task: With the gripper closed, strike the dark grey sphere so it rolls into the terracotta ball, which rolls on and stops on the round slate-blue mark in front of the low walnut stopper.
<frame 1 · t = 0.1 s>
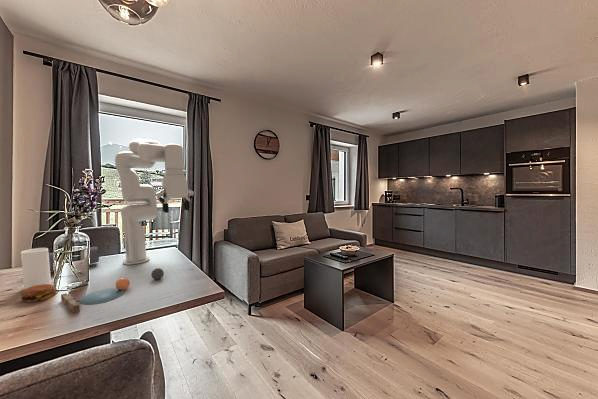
hand: (176, 211, 118), 31 cm above the table, tool pointing down, fingers open, 9 cm apart
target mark: (103, 295, 104), on the table
dark grey sphere: (157, 273, 120), on the table
burger: (39, 298, 103), on the table
cup: (38, 287, 113), on the table
stopper wall: (70, 306, 96), on the table
bluetooth speaker: (70, 269, 136), on the table
object ball: (122, 283, 109), on the table
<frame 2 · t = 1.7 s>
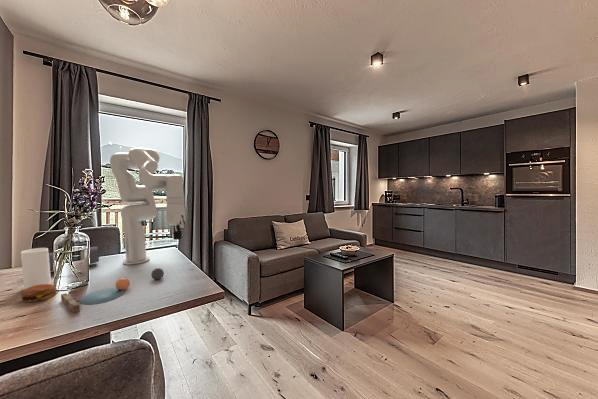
hand: (177, 238, 127), 17 cm above the table, tool pointing down, fingers closed
nothing on the table moved.
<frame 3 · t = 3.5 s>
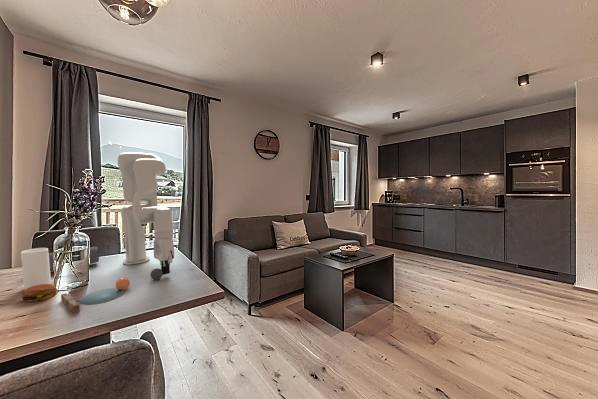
hand: (165, 273, 123), 2 cm above the table, tool pointing down, fingers closed
dark grey sphere: (156, 274, 120), on the table, touching gripper
everything else where it was.
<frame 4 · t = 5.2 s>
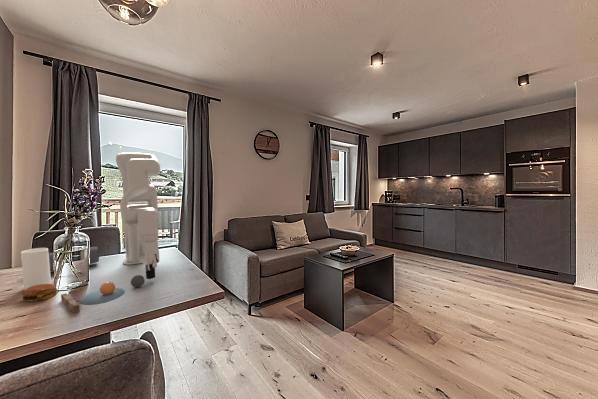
hand: (150, 278, 118), 2 cm above the table, tool pointing down, fingers closed
dark grey sphere: (137, 281, 112), on the table
object ball: (107, 288, 105), on the table
everything else where it was.
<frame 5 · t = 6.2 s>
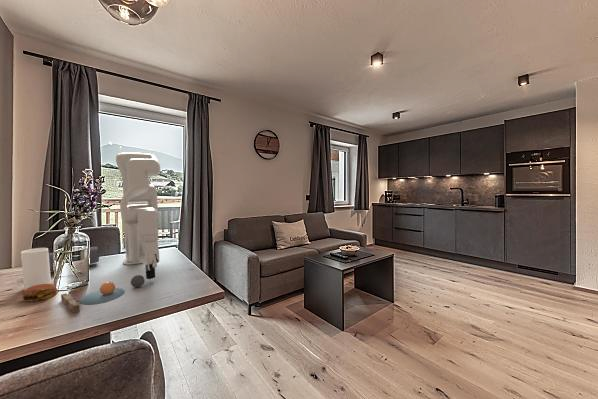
hand: (150, 278, 118), 2 cm above the table, tool pointing down, fingers closed
nothing on the table moved.
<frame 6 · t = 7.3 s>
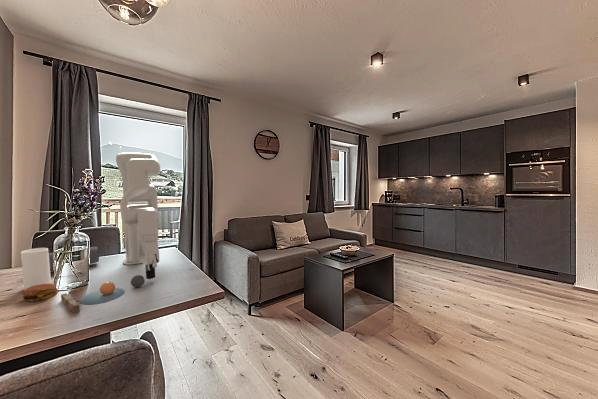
hand: (150, 278, 118), 2 cm above the table, tool pointing down, fingers closed
nothing on the table moved.
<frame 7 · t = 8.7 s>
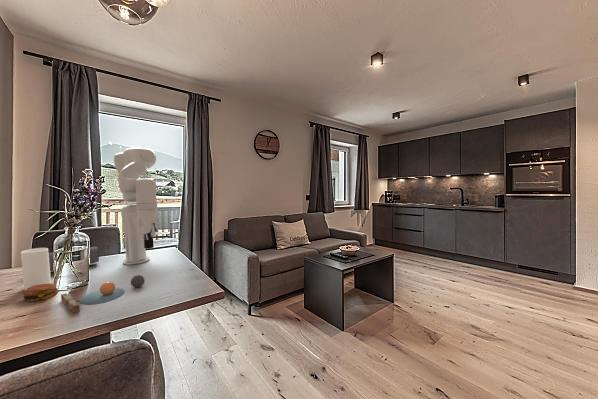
hand: (149, 248, 117), 15 cm above the table, tool pointing down, fingers closed
nothing on the table moved.
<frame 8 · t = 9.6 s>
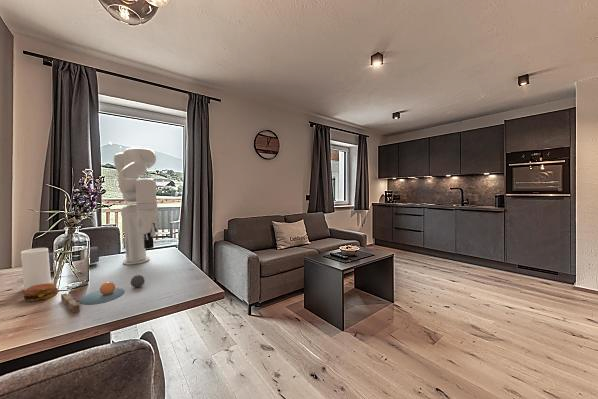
hand: (149, 248, 117), 15 cm above the table, tool pointing down, fingers closed
nothing on the table moved.
at the end: object ball 1.7 cm from the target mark (horizontally); object ball never touched the robot; dark grey sphere first touched object ball at 3.9 s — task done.
